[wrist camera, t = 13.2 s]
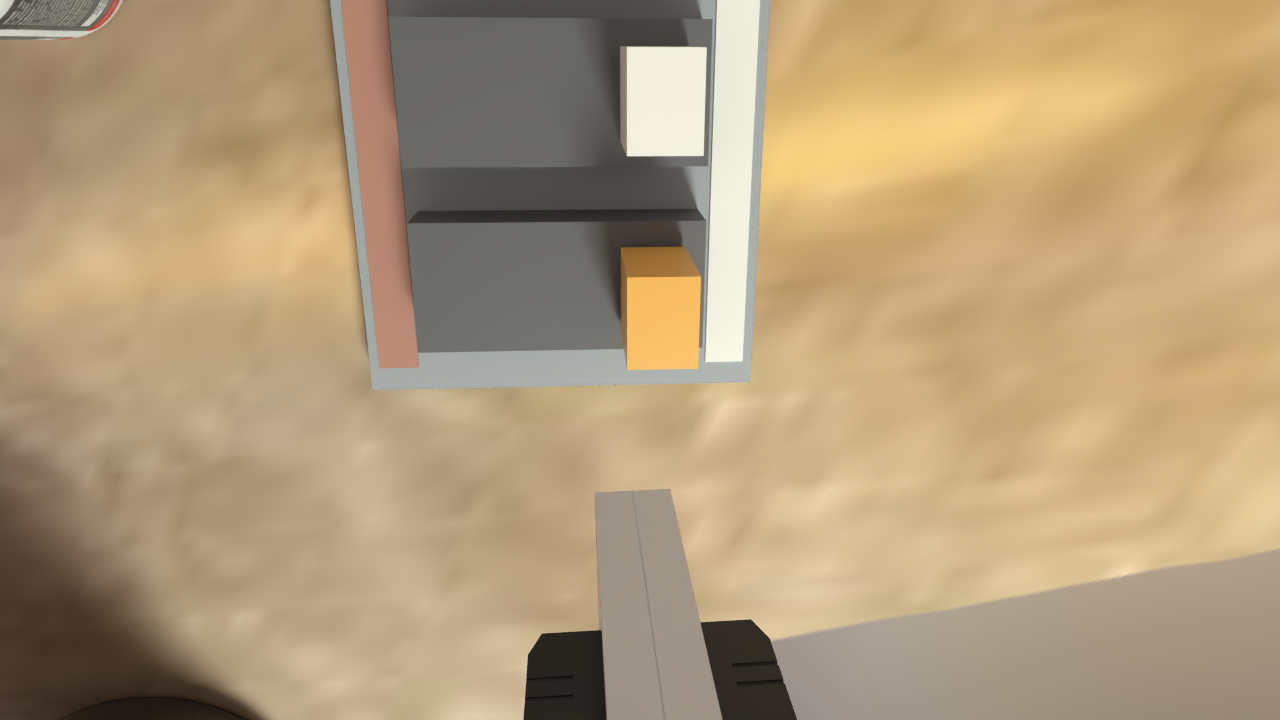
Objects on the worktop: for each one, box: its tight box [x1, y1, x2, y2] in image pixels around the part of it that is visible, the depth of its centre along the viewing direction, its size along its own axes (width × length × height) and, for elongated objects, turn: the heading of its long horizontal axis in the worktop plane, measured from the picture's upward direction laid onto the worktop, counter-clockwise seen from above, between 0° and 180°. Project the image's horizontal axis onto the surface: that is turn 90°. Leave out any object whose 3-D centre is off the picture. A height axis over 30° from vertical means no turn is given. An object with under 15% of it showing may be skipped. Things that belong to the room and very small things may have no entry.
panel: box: [330, 0, 770, 390], centre depth 30 cm, size 16×24×8 cm, turn 0°
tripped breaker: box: [621, 247, 701, 370], centre depth 31 cm, size 2×3×4 cm
